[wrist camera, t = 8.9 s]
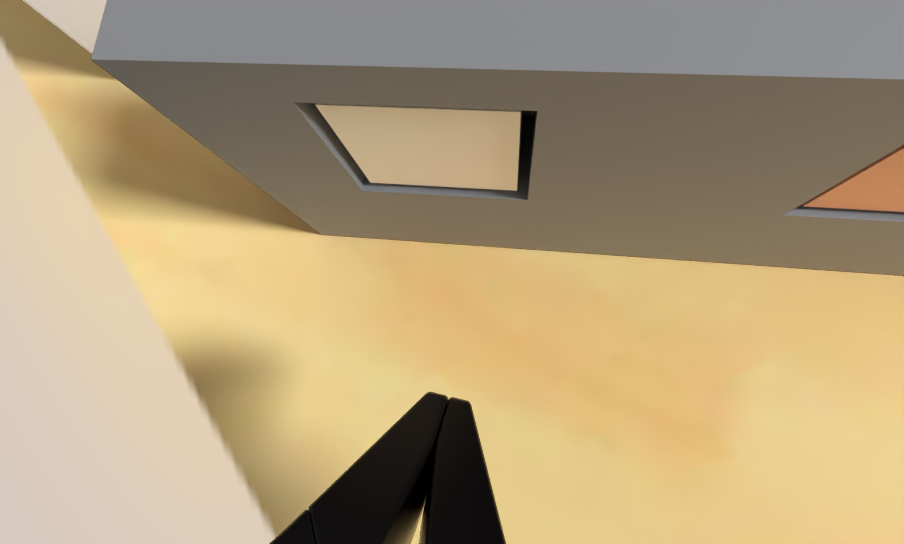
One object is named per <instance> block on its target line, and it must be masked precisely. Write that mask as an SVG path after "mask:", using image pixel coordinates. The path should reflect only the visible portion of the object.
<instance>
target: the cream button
mask: <svg viewBox="0 0 904 544" xmlns="http://www.w3.org/2000/svg"><path fill="white" fill-rule="evenodd" d="M315 105H316V107H317V108H318V109H319V111H320V112H321V114H322V115H323V116H324V118H325V119H326V121H327V122H328V124H329V125H330V126H331V128H332V129H333V131H334V132H335V133H336V135H337V136H338V138H339V139H340V140H341V142H342V143H343V145H344V146H345V147H346V149H347V150H348V152H349V153H350V155H351V156H352V157H353V159H354V160H355V162H356V163H357V164H358V166H359V167H360V169H361V170H362V171H363V173H364V174H365V176H366V177H367V179H368V180H369V181H370V183H387V184H405V185H423V186H440V187H458V188H476V189H494V190H512V191H517V184H518V172H519V159H520V147H521V134H522V119H523V110H496V109H467V108H439V107H410V106H382V105H353V104H324V103H315Z"/></svg>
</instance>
